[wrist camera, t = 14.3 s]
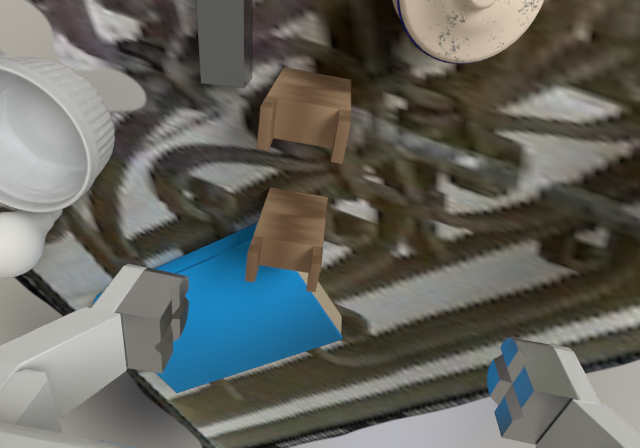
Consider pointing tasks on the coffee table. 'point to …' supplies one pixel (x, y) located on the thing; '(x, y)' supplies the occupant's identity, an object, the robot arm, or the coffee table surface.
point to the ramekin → (49, 135)
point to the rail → (225, 41)
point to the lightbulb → (23, 239)
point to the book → (243, 314)
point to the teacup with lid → (465, 26)
